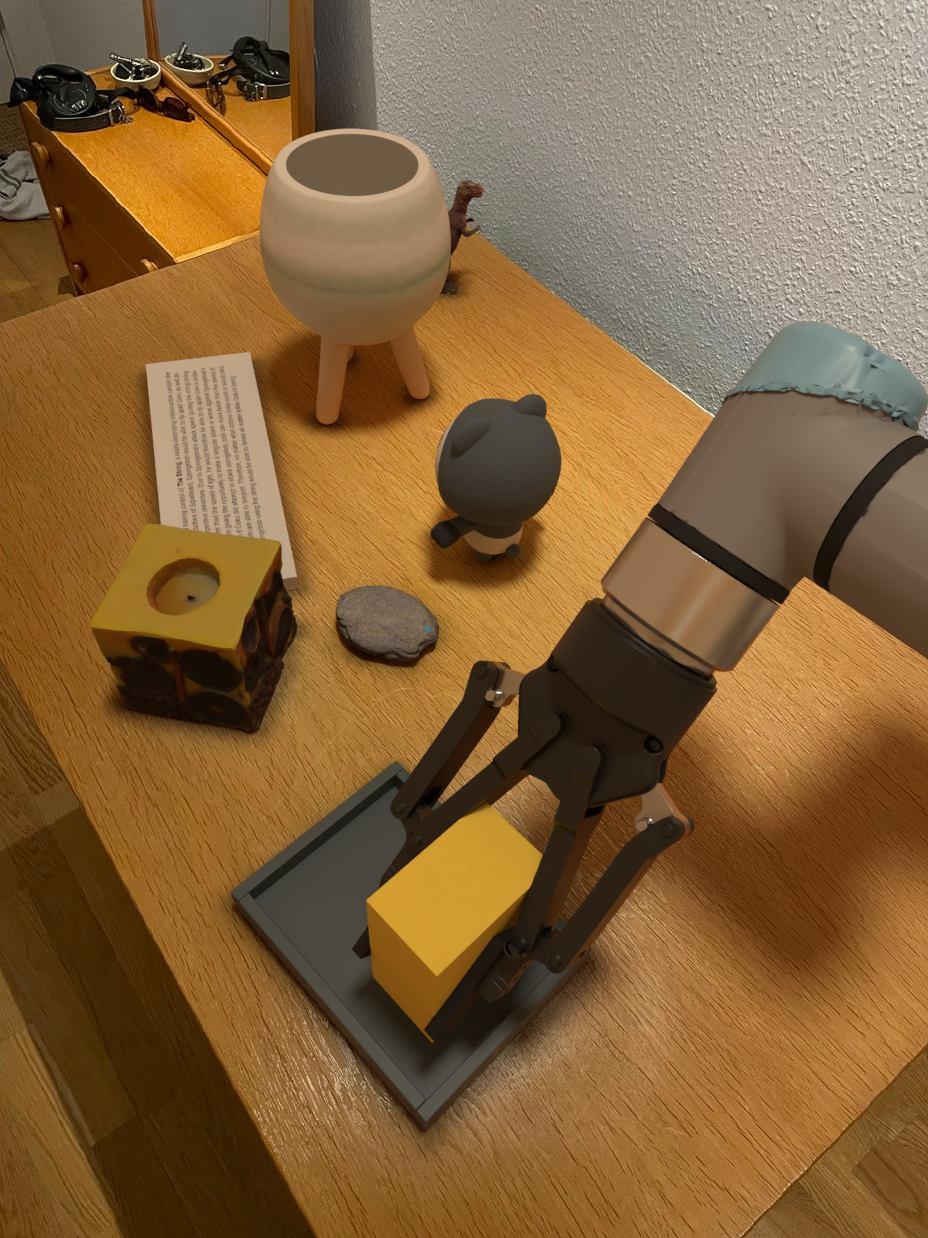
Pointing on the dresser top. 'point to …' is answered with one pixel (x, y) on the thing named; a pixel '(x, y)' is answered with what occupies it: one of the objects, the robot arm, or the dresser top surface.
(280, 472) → the dresser top surface
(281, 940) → the tray
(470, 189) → the dinosaur model
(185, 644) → the candle
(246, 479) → the plaque
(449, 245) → the planter
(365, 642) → the stone
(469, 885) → the yellow block
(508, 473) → the toy
